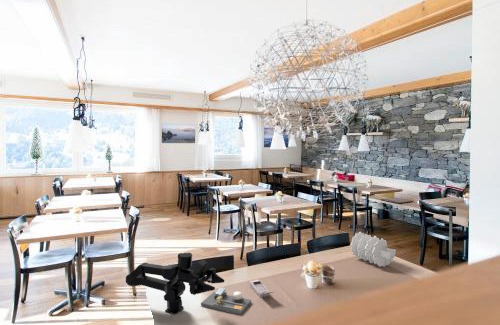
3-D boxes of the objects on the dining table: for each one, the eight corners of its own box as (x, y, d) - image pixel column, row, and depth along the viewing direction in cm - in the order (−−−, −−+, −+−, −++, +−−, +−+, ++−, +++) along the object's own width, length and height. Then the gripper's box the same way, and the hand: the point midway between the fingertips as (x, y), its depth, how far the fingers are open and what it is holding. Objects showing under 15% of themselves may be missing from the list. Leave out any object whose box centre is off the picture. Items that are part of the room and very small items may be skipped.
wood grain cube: (216, 304, 150) (216, 298, 150) (219, 301, 152) (219, 295, 152) (220, 304, 149) (219, 298, 149) (222, 302, 151) (222, 296, 151)
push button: (231, 298, 152) (231, 294, 152) (235, 294, 156) (235, 290, 156) (239, 300, 150) (239, 296, 150) (243, 296, 154) (243, 292, 154)
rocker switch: (215, 295, 156) (215, 293, 155) (220, 288, 160) (220, 287, 160) (220, 296, 154) (220, 294, 154) (225, 289, 159) (225, 288, 159)
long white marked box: (264, 293, 151) (247, 273, 175) (264, 304, 152) (247, 283, 175) (275, 291, 153) (257, 272, 177) (275, 302, 154) (257, 282, 177)
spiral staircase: (382, 275, 190) (351, 261, 212) (399, 259, 197) (368, 246, 219) (374, 252, 185) (344, 239, 207) (392, 236, 191) (361, 225, 213)
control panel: (201, 305, 152) (200, 300, 152) (213, 294, 163) (213, 289, 162) (240, 315, 142) (240, 308, 142) (251, 302, 153) (251, 297, 153)
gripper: (180, 266, 135) (210, 274, 129) (201, 254, 152) (230, 261, 147) (178, 290, 135) (208, 300, 130) (200, 276, 153) (228, 283, 147)
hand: (219, 284), depth 138 cm, fingers open, 9 cm apart
